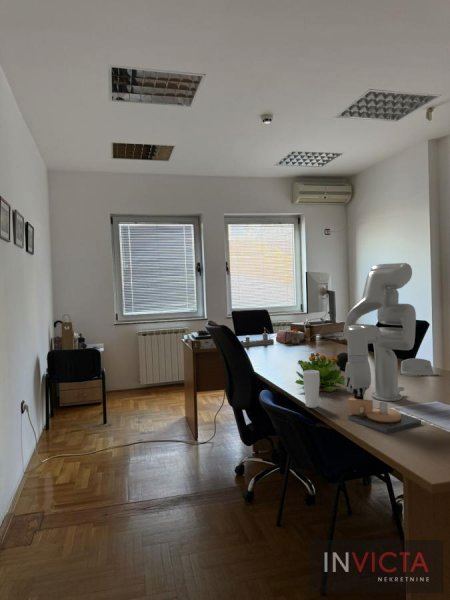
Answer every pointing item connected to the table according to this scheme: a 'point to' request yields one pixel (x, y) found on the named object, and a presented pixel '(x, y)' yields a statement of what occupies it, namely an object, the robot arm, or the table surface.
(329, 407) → the table surface
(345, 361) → the decorative ball
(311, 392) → the drinking glass
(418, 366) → the white arched block
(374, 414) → the wooden lever dial
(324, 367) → the potted flower
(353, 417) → the base plate
